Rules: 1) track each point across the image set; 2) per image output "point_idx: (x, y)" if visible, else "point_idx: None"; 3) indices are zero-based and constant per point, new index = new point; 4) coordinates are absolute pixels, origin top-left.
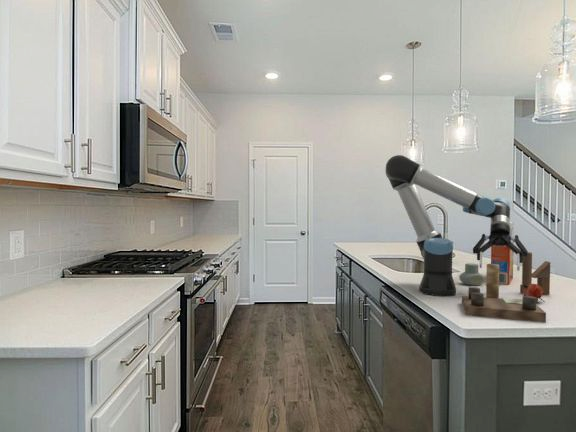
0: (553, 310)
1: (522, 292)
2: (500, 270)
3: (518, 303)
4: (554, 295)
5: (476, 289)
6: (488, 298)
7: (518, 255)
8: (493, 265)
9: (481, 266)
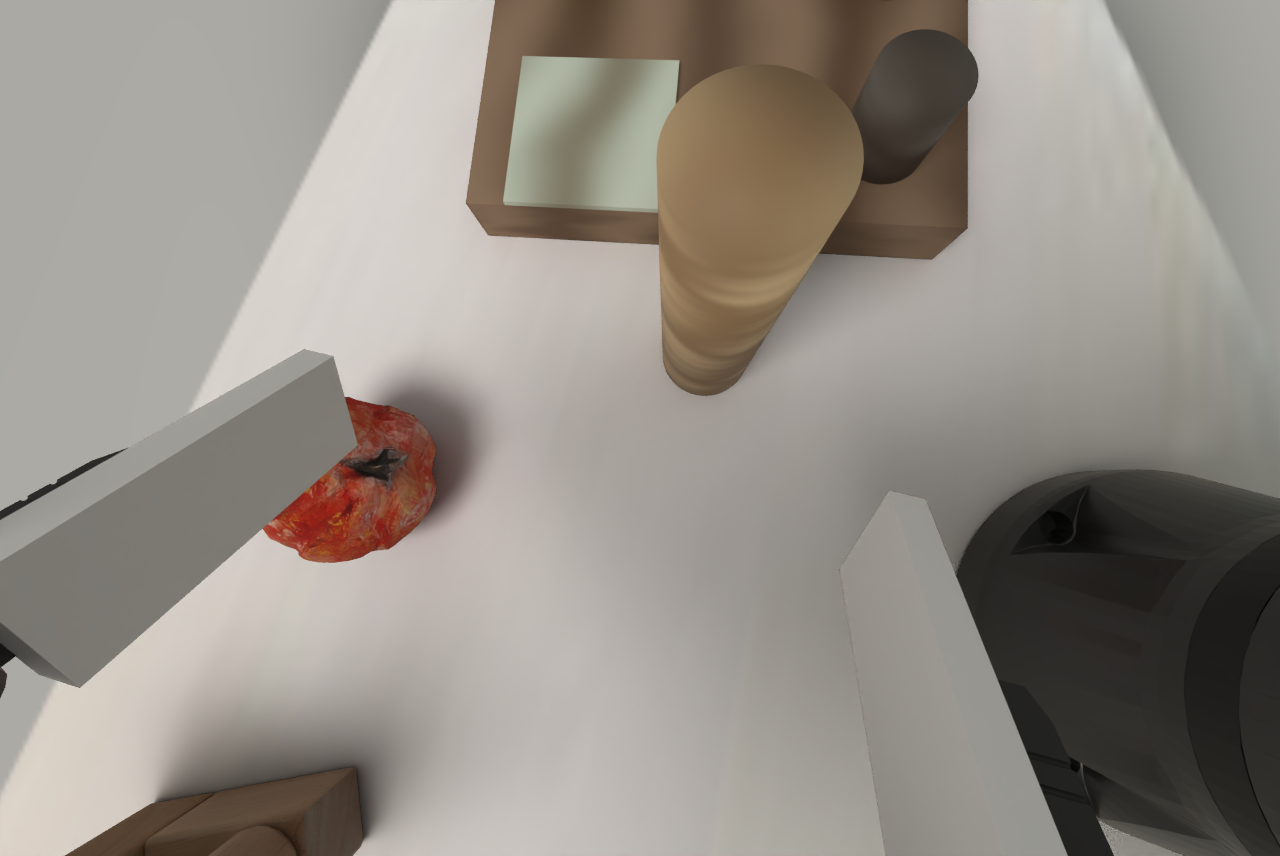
0: (371, 236)
1: (356, 799)
2: None
3: (600, 60)
4: (128, 777)
5: (912, 31)
6: None
7: (27, 522)
8: (769, 65)
9: (859, 538)
